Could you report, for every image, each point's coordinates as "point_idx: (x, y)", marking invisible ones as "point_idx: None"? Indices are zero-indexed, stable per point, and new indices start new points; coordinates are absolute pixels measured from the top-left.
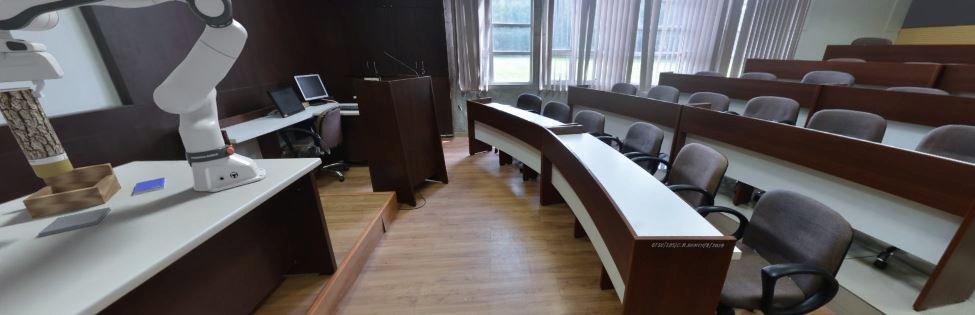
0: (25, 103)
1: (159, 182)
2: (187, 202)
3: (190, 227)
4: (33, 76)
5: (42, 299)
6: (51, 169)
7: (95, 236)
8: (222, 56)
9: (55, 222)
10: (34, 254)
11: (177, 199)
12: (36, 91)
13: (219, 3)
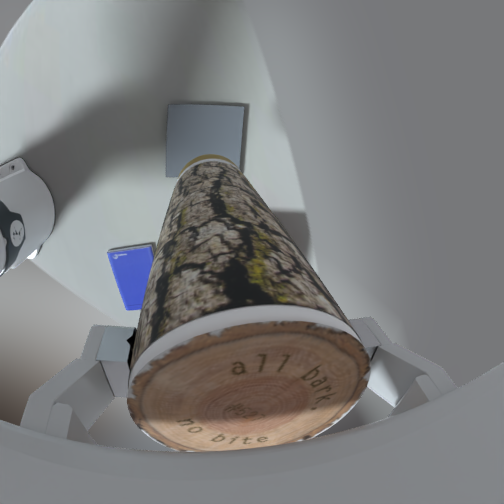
0: (172, 259)
1: (123, 282)
2: (50, 127)
3: (46, 10)
4: (1, 456)
5: None
6: (203, 157)
7: (158, 44)
8: None
9: (234, 150)
10: (227, 29)
11: (67, 157)
12: (92, 358)
13: None
